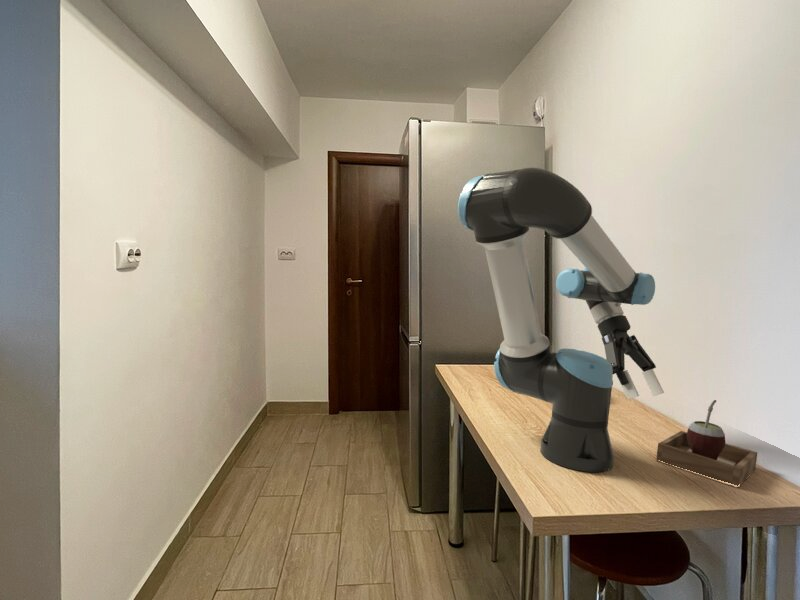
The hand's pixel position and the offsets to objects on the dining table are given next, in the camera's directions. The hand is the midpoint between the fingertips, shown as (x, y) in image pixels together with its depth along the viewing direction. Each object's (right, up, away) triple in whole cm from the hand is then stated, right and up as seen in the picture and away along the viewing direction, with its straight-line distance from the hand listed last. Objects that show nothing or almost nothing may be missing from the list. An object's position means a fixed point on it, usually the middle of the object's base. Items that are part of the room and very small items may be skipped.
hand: (646, 396), depth 112 cm
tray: (+6, -13, -12) cm, 19 cm away
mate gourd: (+6, -12, -13) cm, 18 cm away
